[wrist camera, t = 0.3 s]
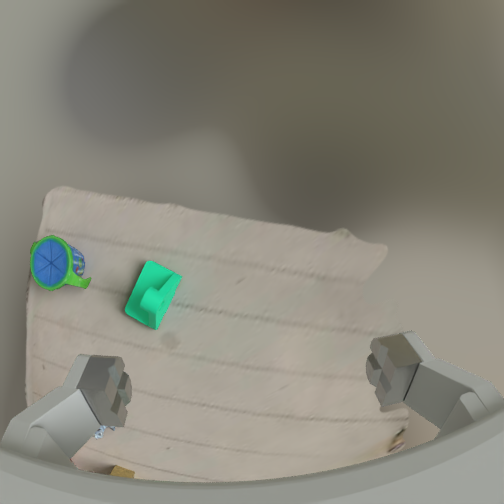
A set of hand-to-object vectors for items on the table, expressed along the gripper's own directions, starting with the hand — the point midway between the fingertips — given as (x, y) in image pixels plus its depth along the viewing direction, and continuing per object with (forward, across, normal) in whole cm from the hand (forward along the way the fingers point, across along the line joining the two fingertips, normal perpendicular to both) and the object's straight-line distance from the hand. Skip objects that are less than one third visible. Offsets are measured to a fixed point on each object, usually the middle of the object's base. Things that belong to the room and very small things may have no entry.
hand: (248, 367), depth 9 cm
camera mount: (+48, -17, -25) cm, 57 cm away
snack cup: (+51, -36, -19) cm, 65 cm away
